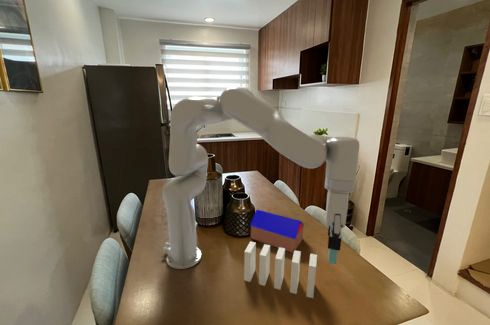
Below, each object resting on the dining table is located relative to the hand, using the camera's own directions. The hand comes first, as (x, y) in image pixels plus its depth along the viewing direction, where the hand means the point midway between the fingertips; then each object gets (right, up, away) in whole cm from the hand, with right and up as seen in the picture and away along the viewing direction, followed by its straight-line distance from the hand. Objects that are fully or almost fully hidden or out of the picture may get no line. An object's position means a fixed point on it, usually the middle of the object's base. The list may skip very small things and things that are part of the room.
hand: (333, 241), depth 68 cm
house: (-12, -11, +34) cm, 37 cm away
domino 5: (-5, -17, +6) cm, 19 cm away
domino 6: (0, -5, +1) cm, 5 cm away
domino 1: (-24, -16, +13) cm, 31 cm away
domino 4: (-10, -17, +8) cm, 21 cm away
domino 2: (-19, -16, +11) cm, 27 cm away
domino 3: (-14, -16, +9) cm, 24 cm away
